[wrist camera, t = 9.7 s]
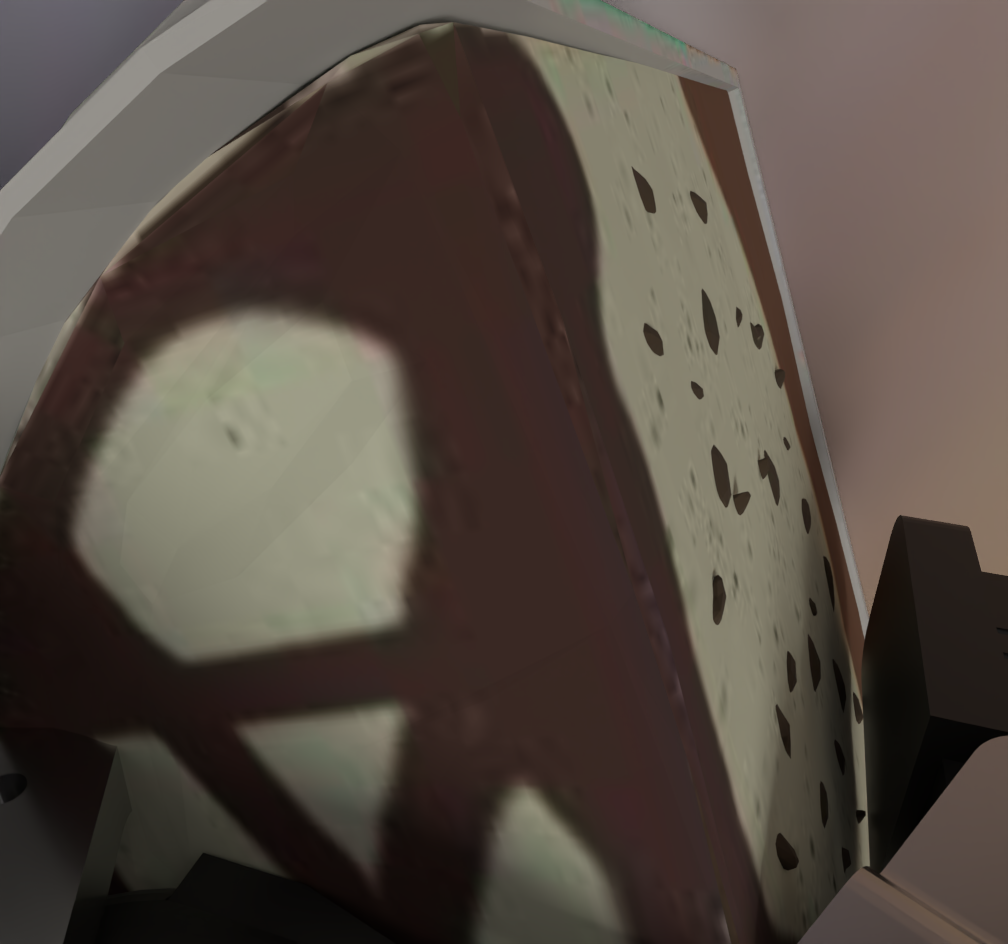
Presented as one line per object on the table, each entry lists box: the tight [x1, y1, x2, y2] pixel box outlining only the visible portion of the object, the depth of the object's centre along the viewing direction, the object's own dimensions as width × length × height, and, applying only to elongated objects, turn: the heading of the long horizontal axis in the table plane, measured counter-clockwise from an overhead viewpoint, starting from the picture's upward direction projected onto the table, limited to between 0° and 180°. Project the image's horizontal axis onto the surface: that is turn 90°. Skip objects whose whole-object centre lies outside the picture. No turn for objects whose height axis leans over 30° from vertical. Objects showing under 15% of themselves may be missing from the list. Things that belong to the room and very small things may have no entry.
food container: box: [0, 0, 870, 944], centre depth 10 cm, size 12×6×10 cm, turn 21°
